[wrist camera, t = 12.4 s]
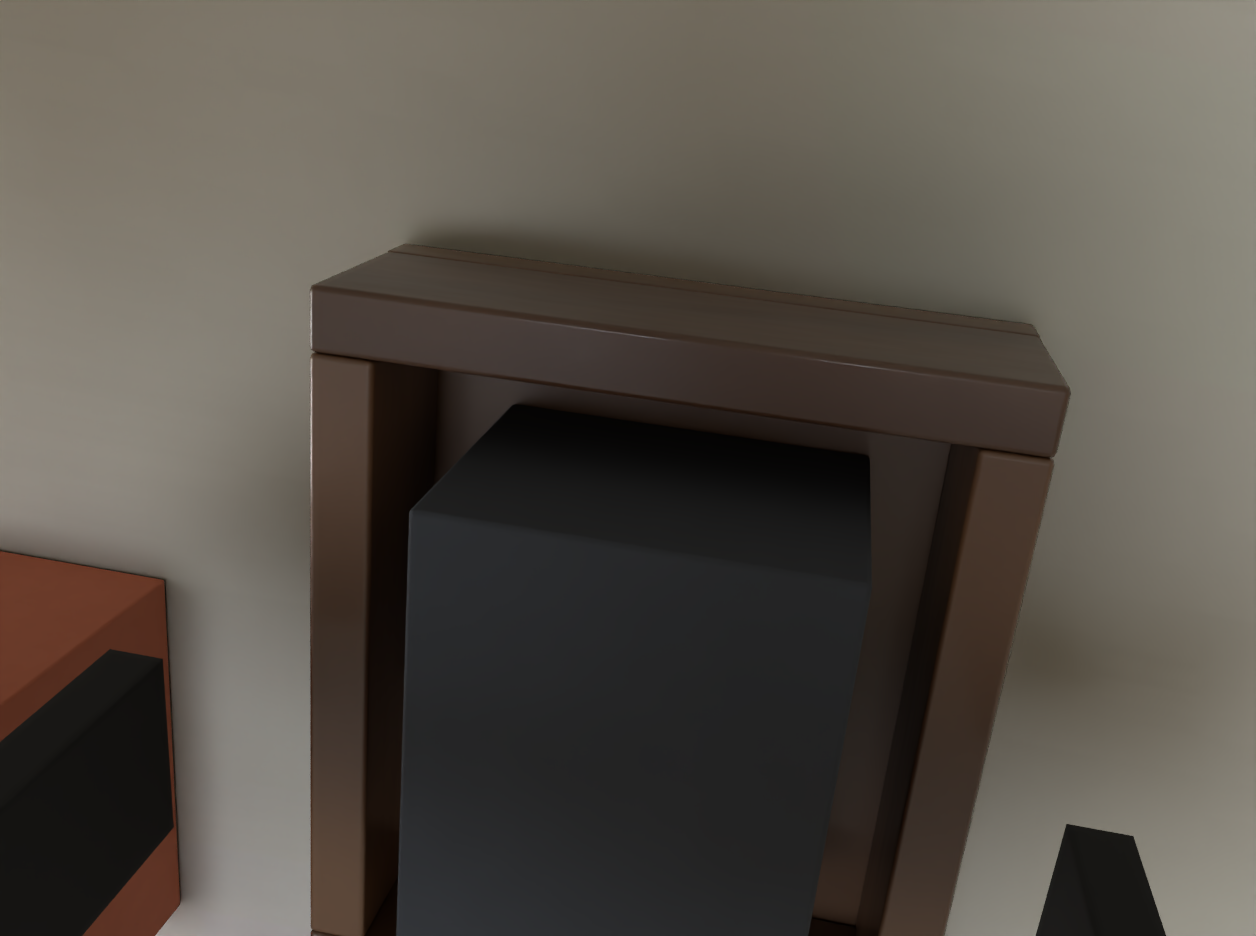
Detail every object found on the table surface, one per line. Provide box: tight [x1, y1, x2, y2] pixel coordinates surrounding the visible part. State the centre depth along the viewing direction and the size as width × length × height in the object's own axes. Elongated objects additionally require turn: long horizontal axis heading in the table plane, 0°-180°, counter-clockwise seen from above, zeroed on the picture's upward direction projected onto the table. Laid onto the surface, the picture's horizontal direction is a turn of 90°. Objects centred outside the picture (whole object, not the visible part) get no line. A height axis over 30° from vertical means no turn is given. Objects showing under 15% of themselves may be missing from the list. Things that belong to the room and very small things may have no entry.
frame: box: [310, 244, 1071, 936], centre depth 20 cm, size 12×10×4 cm
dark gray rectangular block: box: [396, 404, 872, 936], centre depth 19 cm, size 8×6×5 cm
